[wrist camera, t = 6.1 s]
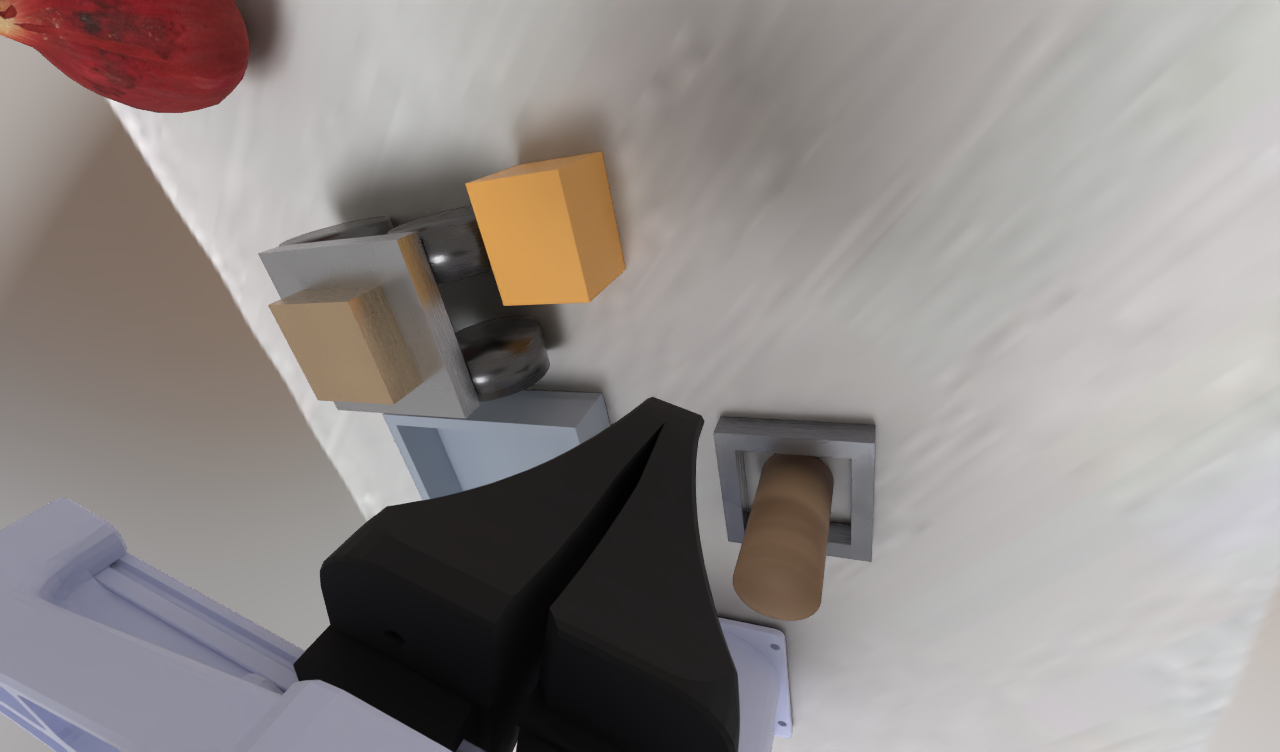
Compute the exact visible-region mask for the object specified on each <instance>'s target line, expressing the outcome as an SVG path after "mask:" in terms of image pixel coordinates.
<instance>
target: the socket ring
mask: <svg viewBox="0 0 1280 752" xmlns="http://www.w3.org/2000/svg"><path fill="white" fill-rule="evenodd" d="M714 439H715V447H716V454H717V461H718V469H719V476H720V483H721V491H722V498H723V505H724V513H725V520H726V527H727V534H728V541H730V542H737V543H742V542H743V538H744V535H745V531H746V527H747V524H748V520H749V516H750V513H751V512H749V505H748V496H747V487H746V478H745V469H744V459H743V451H753V452H766V453H779V454H792V455H805V456H817V457H830V458H843V459H852V480H851V525H849V524H841V523H833V522H829V531H828V541H827V550H826V555H827V556H834V557H841V558H848V559H855V560H862V561H869V562H872V530H873V495H874V461H875V425H863V424H845V423H827V422H808V421H790V420H771V419H753V418H734V417H720V419H719V421H718V424H717V426H716V428H715V431H714Z"/></svg>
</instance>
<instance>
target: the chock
mask: <svg viewBox="0 0 1280 752" xmlns="http://www.w3.org/2000/svg"><path fill="white" fill-rule="evenodd" d="M465 185H466V188H467V191H468V194H469V198H470V201H471V204H472V207H473V210H474V213H475V216H476V220H477V223H478V226H479V229H480V232H481V235H482V238H483V242H484V245H485V248H486V251H487V254H488V257H489V261H490V264H491V267H492V270H493V273H494V276H495V279H496V283H497V286H498V289H499V292H500V295H501V298H502V301H503V305H504V306H511V305H536V304H560V303H584V302H590V301H592V300H593V299H594V298H595V297H596V296H597V295H598V294H599V293H600V292H601V291H602V290H604V289H605V288H606V287H607V286H608V285H609V284H610V283H611V282H612V281H613V280H614V279H616V278H617V277H618V276H619V275H620V274H621V273H622V272H623V271H624V270H625V269H626V268H625V263H624V258H623V253H622V248H621V243H620V238H619V233H618V228H617V223H616V218H615V213H614V208H613V203H612V198H611V193H610V188H609V183H608V178H607V173H606V168H605V163H604V158H603V153H602V151H600V152H594V153H588V154H582V155H575V156H569V157H563V158H557V159H551V160H544V161H538V162H532V163H526V164H520V165H516V166H513V167H511V168H508V169H505V170H502V171H499V172H496V173H494V174H491V175H488V176H485V177H482V178H480V179H477V180H474V181H471V182H468V183H465Z"/></svg>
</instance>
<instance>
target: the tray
mask: <svg viewBox="0 0 1280 752" xmlns="http://www.w3.org/2000/svg"><path fill="white" fill-rule="evenodd" d="M383 417H384V419H385V421H386V423H387V425H388V427H389V429H390V432H391V434H392V436H393V438H394V440H395V442H396V444H397V447H398V449H399V451H400V453H401V455H402V457H403V459H404V461H405V464H406V466H407V468H408V470H409V472H410V474H411V476H412V479H413V481H414V483H415V485H416V487H417V489H418V491H419V494H420V496H421V498H422V500H427V499H433V498H438V497H442V496H447V495H451V494H455V493H459V492H462V491H466V490H469V489H473V488H477V487H480V486H484V485H487V484H490V483H493V482H496V481H499V480H502V479H505V478H507V477H510V476H513V475H515V474H518V473H521V472H523V471H526V470H528V469H531V468H533V467H535V466H538V465H540V464H542V463H544V462H547V461H549V460H551V459H553V458H555V457H557V456H559V455H561V454H563V453H565V452H567V451H569V450H570V449H572V448H574V447H576V446H578V445H579V444H581V443H583V442H585V441H587V440H588V439H590V438H592V437H593V436H595V435H597V434H598V433H600V432H601V431H603V430H604V429H606V428H608V427H609V426H610V422H609V418H608V414H607V410H606V406H605V402H604V398H603V393H585V392H560V391H535V390H522V391H519V392H517V393H515V394H512V395H509V396H506V397H503V398H499V399H495V400H490V401H483V402H480V406H479V407H477V408H476V409H475V410H474V411H473V412H472V413H471V414H470V415H469V416H468V417H467V418H450V417H436V416H421V415H406V414H392V413H384V414H383Z"/></svg>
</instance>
